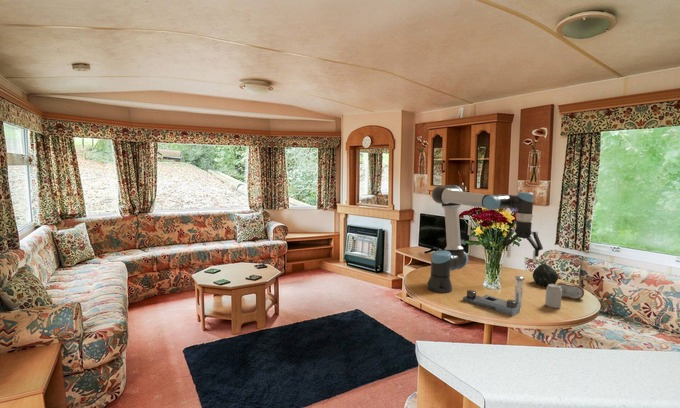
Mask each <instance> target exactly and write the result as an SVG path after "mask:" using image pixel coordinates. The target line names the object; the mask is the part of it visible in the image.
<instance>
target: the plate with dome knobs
mask: <svg viewBox="0 0 680 408" xmlns="http://www.w3.org/2000/svg"><path fill="white" fill-rule="evenodd" d="M463 301H464V302H466V303H469V304H472V305H476V306H479V307H482V308H484V309H485V308H486V309H489V310H491V311H495V312H498V313H501V314H504V315H507V316H511V317H513V316H516V315H517V314H520V313H521V308H520V305H519V304H517V302H516V301H514V300H513V299H507V300H505V299H502V298H499V297H495V296H492V295H489V294H485V295H483V296H480V295H477V291H476V290H472V289H469V290H467V291H466V295H465V296H463V297H462V302H463Z"/></svg>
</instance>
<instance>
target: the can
mask: <svg viewBox="0 0 680 408" xmlns="http://www.w3.org/2000/svg"><path fill="white" fill-rule="evenodd" d="M556 284H557V283H556ZM556 284H548V286H546V288H545V289H546V291H545V303H544V304H545V305H546V306H547V307H548V308H551V309H559V308H560V307H561V306H562V298H563V297H562V289H561V286H559V285H556Z"/></svg>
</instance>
